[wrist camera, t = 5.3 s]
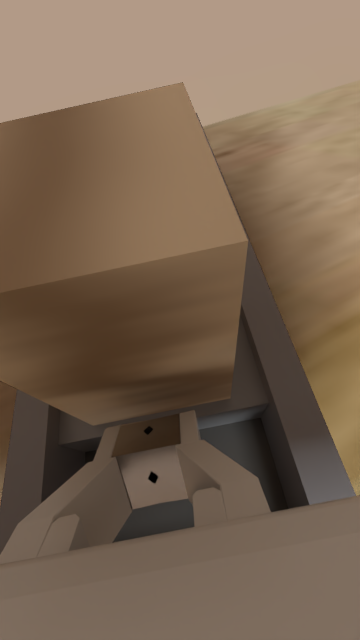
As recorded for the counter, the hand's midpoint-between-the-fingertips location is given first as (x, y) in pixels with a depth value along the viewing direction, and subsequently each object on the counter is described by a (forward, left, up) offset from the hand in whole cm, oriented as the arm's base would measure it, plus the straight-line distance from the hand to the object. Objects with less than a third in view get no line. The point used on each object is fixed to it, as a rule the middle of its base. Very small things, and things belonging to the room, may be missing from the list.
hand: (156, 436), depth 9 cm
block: (0, -4, -2) cm, 5 cm away
